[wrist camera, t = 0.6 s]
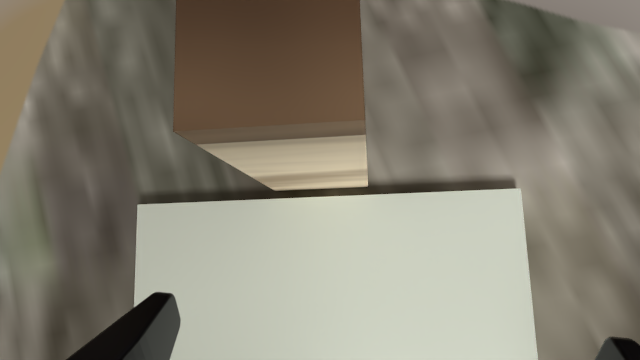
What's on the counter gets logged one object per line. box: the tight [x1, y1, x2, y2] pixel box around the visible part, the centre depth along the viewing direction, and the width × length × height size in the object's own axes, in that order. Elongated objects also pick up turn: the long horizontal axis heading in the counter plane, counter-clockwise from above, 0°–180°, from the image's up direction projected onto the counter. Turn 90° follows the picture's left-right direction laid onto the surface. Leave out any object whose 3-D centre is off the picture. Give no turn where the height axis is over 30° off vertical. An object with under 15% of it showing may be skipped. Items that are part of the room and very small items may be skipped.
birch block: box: [173, 0, 368, 191], centre depth 18 cm, size 6×5×12 cm
